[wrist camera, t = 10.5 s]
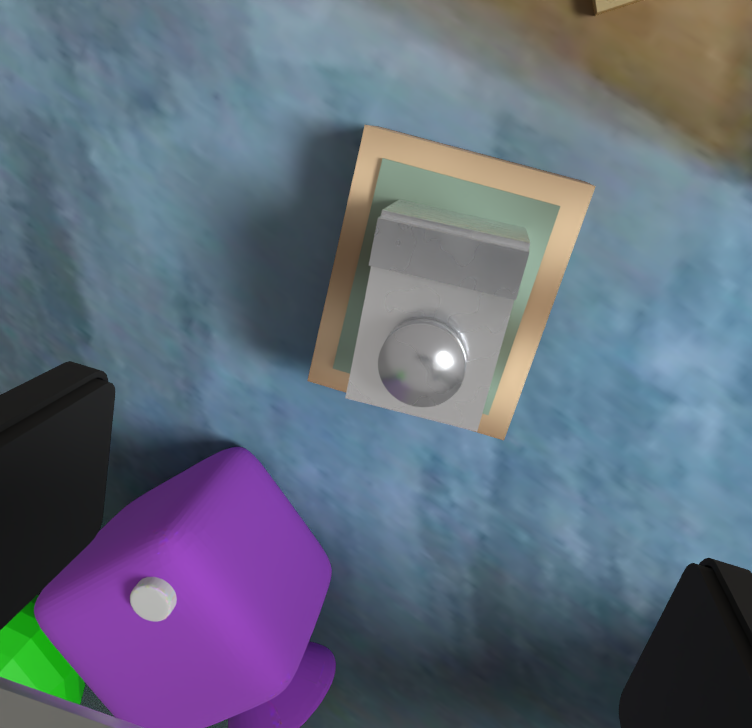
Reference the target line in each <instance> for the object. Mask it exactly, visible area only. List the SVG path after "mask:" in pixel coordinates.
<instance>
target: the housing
mask: <svg viewBox="0 0 752 728" xmlns="http://www.w3.org/2000/svg"><path fill="white" fill-rule="evenodd" d="M529 247H530V240H529V237H528V234H527V231H526V228H525V227H520V226H516V225H511V224H507V223H502V222H498V221H493V220H489V219H484V218H480V217H475V216H471V215H466V214H462V213H457V212H453V211H448V210H444V209H439V208H435V207H430V206H426V205H421V204H417V203H412V202H408V201H403V200H398V201H396V202H394V203H393V204H391V205H389V206H388V207H386V208H384V209H383V210H382V213H381V216H380V217H378V220H377V225H376V230H375V235H374V240H373V245H372V250H371V256H370V261H369V266H371V269H370V274H369V279H368V285H367V290H366V295H365V300H364V305H363V310H362V315H361V320H360V326H359V331H358V336H357V341H356V346H355V351H354V356H353V361H352V367H351V372H350V377H349V382H348V387H347V392H346V397H345V398H347V399H351V400H355V401H359V402H363V403H367V404H371V405H374V406H378V407H382V408H386V409H390V410H394V411H398V412H402V413H406V414H410V415H413V416H417V417H421V418H425V419H429V420H433V421H437V422H441V423H445V424H449V425H453V426H456V427H460V428H464V429H468V430H472V431H476V432H477V431H478V427H479V424H480V420H481V417H482V413H483V409H484V406H485V402H486V399H487V395H488V392H489V388H490V385H491V381H492V378H493V374H494V371H495V367H496V363H497V360H498V356H499V353H500V349H501V346H502V342H503V339H504V335H505V332H506V328H507V325H508V321H509V317H510V314H511V310H512V307H513V303H514V300H516V299H517V295H518V291H519V288H520V284H521V281H522V277H523V274H524V270H525V267H526V263H527V260H528V256H529V253H530V252H529Z"/></svg>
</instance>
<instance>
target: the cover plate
mask: <svg viewBox="0 0 752 728" xmlns="http://www.w3.org/2000/svg"><path fill="white" fill-rule="evenodd" d="M592 1H593V7H594V13H595V16H596V15H599V14H602V13H605V12H608V11H612V10H615V9H618V8H621V7H624V6H627V5H630V4H633V3H636V2H639V1H642V0H592Z"/></svg>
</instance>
